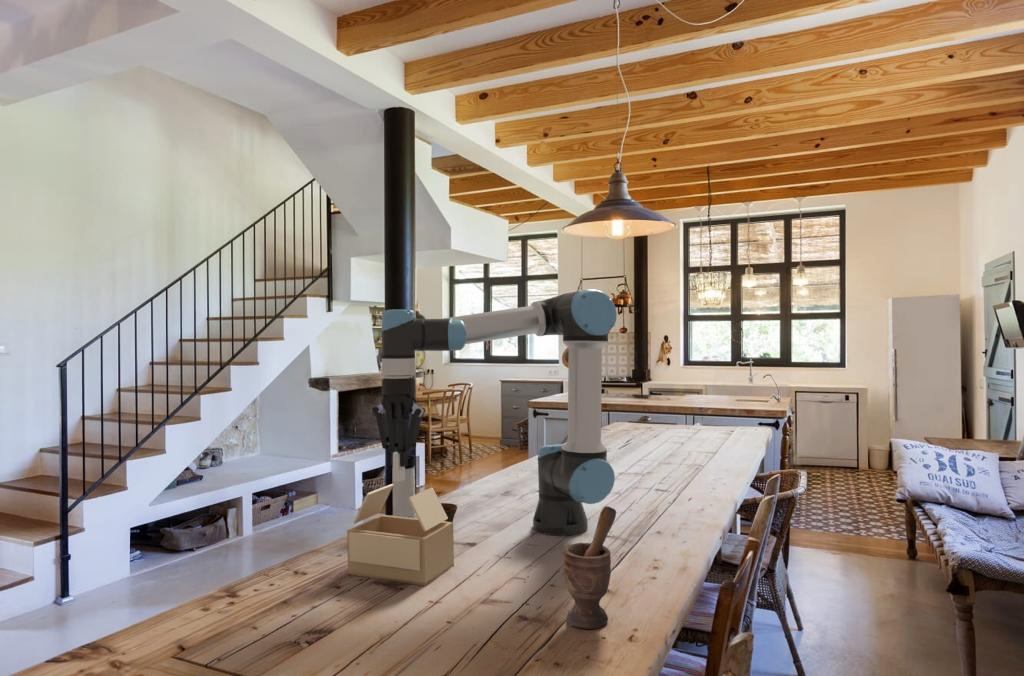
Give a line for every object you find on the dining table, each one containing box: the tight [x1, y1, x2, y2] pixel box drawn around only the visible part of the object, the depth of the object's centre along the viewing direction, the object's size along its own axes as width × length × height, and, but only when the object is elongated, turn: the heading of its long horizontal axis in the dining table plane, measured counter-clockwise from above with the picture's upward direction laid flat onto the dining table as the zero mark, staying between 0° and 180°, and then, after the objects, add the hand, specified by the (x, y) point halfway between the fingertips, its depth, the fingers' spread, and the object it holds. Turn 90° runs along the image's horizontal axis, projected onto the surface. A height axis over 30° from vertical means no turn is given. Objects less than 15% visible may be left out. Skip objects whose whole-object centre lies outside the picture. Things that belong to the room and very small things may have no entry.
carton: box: [346, 514, 455, 587], centre depth 143 cm, size 20×14×10 cm
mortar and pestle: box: [562, 505, 617, 630], centre depth 117 cm, size 12×9×20 cm
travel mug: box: [391, 454, 416, 518], centre depth 177 cm, size 6×7×20 cm
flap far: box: [352, 483, 393, 525], centre depth 146 cm, size 10×1×8 cm, turn 158°
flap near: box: [408, 486, 448, 532], centre depth 140 cm, size 10×1×8 cm
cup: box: [440, 502, 458, 523], centre depth 162 cm, size 9×9×10 cm
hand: (398, 480), depth 143 cm, fingers closed
